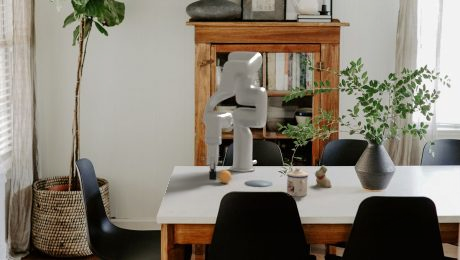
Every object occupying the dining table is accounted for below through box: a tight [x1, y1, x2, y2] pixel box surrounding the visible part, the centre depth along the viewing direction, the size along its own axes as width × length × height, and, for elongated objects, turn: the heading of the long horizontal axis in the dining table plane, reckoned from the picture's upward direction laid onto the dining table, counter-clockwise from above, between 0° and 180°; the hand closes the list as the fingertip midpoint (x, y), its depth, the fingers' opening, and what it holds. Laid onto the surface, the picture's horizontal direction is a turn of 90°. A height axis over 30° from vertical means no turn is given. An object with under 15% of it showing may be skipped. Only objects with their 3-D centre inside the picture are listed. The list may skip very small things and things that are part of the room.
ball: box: [218, 170, 232, 184], centre depth 319 cm, size 6×6×6 cm
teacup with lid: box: [286, 167, 309, 197], centre depth 298 cm, size 12×9×12 cm
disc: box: [244, 179, 274, 188], centre depth 320 cm, size 13×13×1 cm
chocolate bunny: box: [314, 165, 332, 189], centre depth 316 cm, size 6×8×10 cm
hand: (212, 179), depth 320 cm, fingers closed
